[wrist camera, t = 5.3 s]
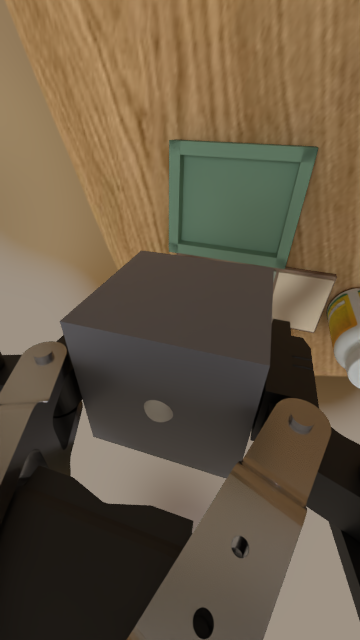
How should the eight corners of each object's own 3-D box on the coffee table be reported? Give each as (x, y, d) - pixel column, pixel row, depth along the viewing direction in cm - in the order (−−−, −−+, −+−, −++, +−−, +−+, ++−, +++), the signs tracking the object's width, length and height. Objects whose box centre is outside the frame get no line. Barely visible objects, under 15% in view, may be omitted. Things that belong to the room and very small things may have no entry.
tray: (316, 146, 22) (318, 147, 20) (284, 262, 28) (284, 269, 26) (176, 139, 25) (169, 140, 23) (174, 245, 31) (168, 251, 29)
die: (281, 269, 9) (283, 377, 5) (254, 374, 12) (241, 495, 8) (141, 250, 11) (52, 327, 6) (147, 351, 14) (90, 446, 9)
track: (336, 274, 27) (337, 278, 26) (313, 330, 31) (314, 334, 30) (178, 250, 31) (175, 253, 30) (176, 302, 35) (174, 306, 34)
